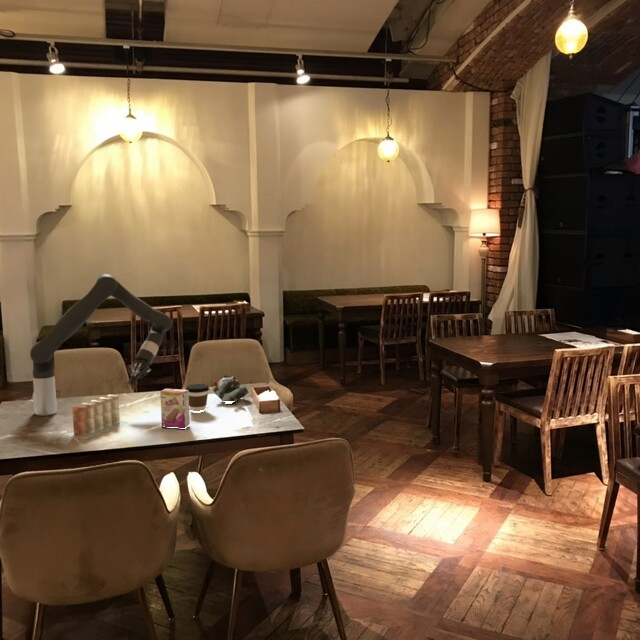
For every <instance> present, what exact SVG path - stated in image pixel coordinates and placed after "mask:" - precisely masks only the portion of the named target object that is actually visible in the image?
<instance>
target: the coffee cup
mask: <svg viewBox="0 0 640 640" xmlns="http://www.w3.org/2000/svg"><path fill="white" fill-rule="evenodd" d="M184 390H189V411H191V410H193V411H200V410H204V409H205V408H206V407H207V403H208V395H209V394H208V391H210V387H209V385H207V384H205V383H194V384H189V385H187V386H186V387H185V388H184ZM205 410H206V409H205Z"/></svg>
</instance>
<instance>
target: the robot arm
mask: <svg viewBox="0 0 640 640" xmlns="http://www.w3.org/2000/svg"><path fill="white" fill-rule="evenodd" d="M110 297H113V298H114V299H116V300H118V301H119V302H120V303H122V304H123V305H124V306H125V307H126V308H127V309H128V310H129V311H131V312H132V313H133V314H135V316H137V317H138V318H139V319H141V320H143V321H145V322H151V323H152V324H151V326H150V327H151V328H150V330H149V332H148V334H147V337H146V338H145V340H144V342H143V343H142V345H141V346H140V348H139V350H138V352H137V354H136V355H135V360H134V361H133V362H132V364H127V365H126V368H127V374H128V375H129V376H130V377H129V379H128V381H127V382H128V383H127V384H128V385H130V386H132V387H133V386H134V385H135V384H136V382H137V380H139V379H142V378H144V377H146V376H147V375H148V374H150V373H151V372H152V369H151V368H150V365H152V363H153V361H154V359H155V357H156V355H157V353H158V350H159V348H160V346H161V344H162V342H163V339H164V338H163V336H164V334H165V332H167V331H169V330H170V329H171V328H172V326H173V320H172V318H171V317H170V316H169V315H167V314H165V312H162V311H159V310H158V309H155V308H153V307H152V306H151V305H150V304H147V302H145V301H144V300H142V299H140V298H139V297H138V296H136V295H135V294H134V293H131V291H129V290H128V289H127V288H126V287H124V286H123V285H122V284H121V283H120V282H119V281H118V280H117V279H116V277H115V276H114V275H112V274H110V273H109V274H108V273H104V274H103V273H102V274H101V275H99V276H98V277H97V280H96V282H95V284H94V285H93V286H92V287H91V289H90V290H89V292H87V294H85V296H83V297H82V298H81V299H80V300H78V301H76V302H75V303H74V304H73V305H72V306H70V307H69V308H68V309H67V310H66V312H65V313H64V314H63V315H62V316H61V317H60V318H59V319H58V320H57V322H56V323H55V324H54V326H53V327H52V329H51V330H50V331H49V332H48V333H47V335H45V336H44V337H43V338H42V339H41V340H39V341H37V342H36V343H34V344H33V346H32V347H31V349H30V353H29V354H30V355H29V356H30V359H31V360H32V366H33V367H32V382H33V383H32V384H33V392H32V404H33V414H35V415H36V416H42V417H43V416H50V415H54V414H56V413H57V411H58V408H57V407H58V406H57V393H56V391H57V390H56V379H55V352H56V351H57V350H58V349H59V348H60V347H61V345H63V343H64V342H65V341H67V340H68V339H70V338H71V337H72V336H73V335H74V334H75V333H76V332H77V331H79V329H80V328H81V327H82V326H83V325H84V324H85V323H86V322H87V321H88V320H89V318H91V316H93V314H94V312H95V311H96V310H97V309H98V308H99V307H100V306H101V304H103V303H104V302H105V301H106V300H107V299H108V298H110Z"/></svg>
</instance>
